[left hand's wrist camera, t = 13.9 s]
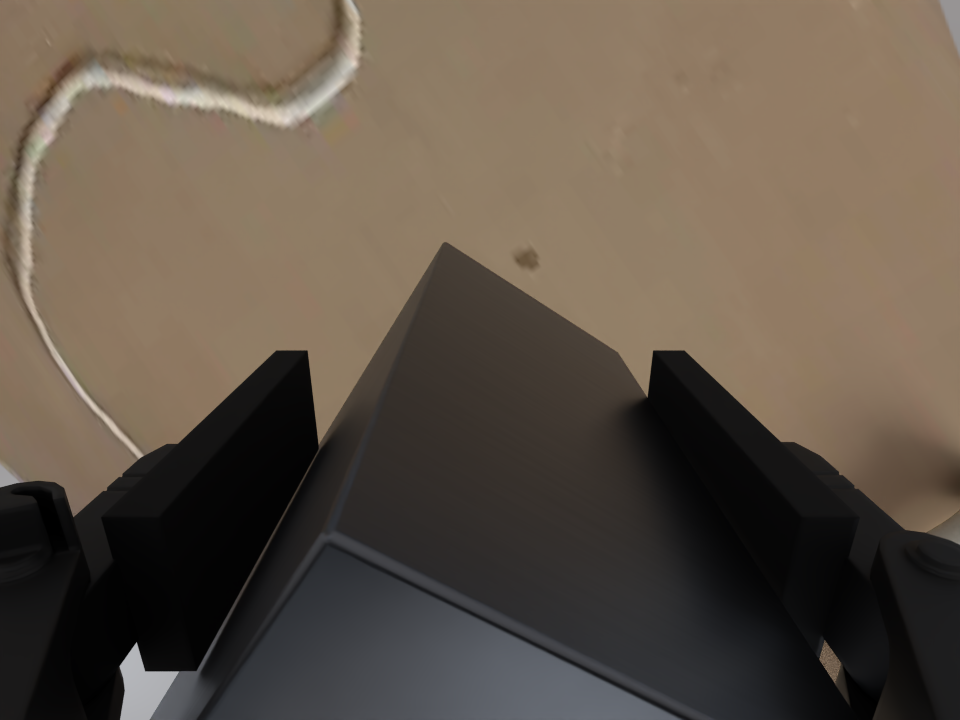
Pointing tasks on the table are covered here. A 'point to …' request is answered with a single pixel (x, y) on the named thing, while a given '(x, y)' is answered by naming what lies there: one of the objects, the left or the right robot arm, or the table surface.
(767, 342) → the table surface
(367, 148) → the table surface
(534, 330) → the box
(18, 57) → the table surface
